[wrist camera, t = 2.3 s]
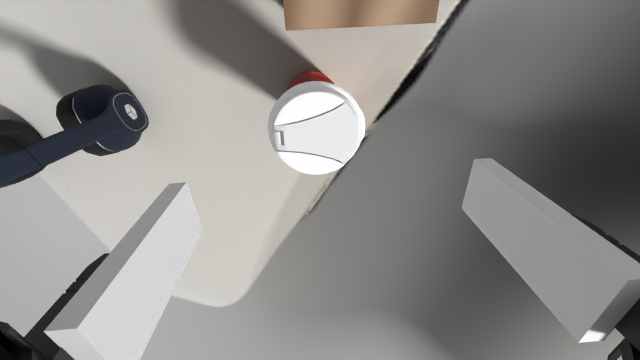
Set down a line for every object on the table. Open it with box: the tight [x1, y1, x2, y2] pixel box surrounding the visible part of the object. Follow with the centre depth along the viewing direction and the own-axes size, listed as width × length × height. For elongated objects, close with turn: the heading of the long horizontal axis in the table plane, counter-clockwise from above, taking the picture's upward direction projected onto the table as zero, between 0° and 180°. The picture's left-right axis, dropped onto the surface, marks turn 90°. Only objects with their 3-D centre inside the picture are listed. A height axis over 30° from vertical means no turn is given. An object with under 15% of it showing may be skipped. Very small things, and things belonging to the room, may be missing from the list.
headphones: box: [0, 85, 149, 188], centre depth 25 cm, size 20×7×18 cm, turn 106°
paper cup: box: [268, 71, 365, 175], centre depth 26 cm, size 8×8×14 cm
